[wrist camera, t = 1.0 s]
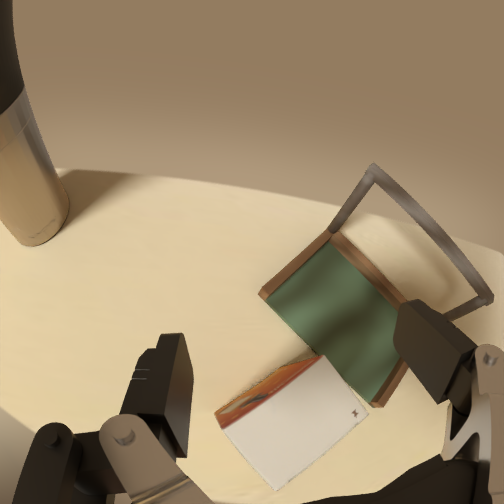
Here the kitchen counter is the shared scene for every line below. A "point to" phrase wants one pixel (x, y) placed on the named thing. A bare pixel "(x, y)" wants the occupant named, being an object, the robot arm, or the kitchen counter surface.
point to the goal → (358, 297)
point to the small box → (291, 419)
